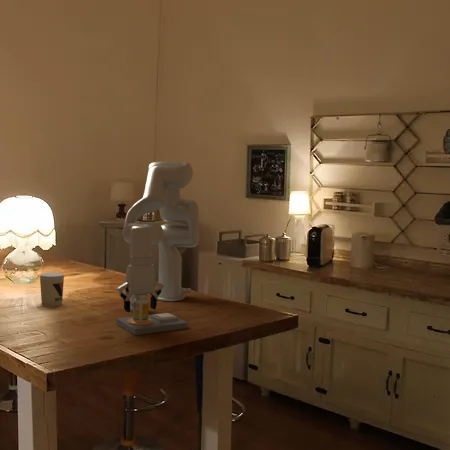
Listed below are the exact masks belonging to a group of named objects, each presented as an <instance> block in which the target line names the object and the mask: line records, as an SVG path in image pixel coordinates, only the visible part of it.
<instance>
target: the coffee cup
mask: <svg viewBox="0 0 450 450" xmlns="http://www.w3.org/2000/svg"><path fill="white" fill-rule="evenodd" d="M39 279H40V280H39V282H40V284H39V285H40V296H41V306H43V307H50V308H51V307H52V308H53V307H60V306H61V305H63V296H64V295H63V294H64V281H65V280H64V279H65V275H64V273H62V272H43V273H40V275H39Z"/></svg>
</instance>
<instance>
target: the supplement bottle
mask: <svg viewBox="0 0 450 450" xmlns="http://www.w3.org/2000/svg"><path fill="white" fill-rule="evenodd" d="M135 297H136V299H134V301H133V312H132V317H133V321H135V322H146V321H148V315H149V307H150V301H149V299H148V294H141V295H135ZM146 298H147V299H146Z"/></svg>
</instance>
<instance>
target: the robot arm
mask: <svg viewBox="0 0 450 450" xmlns="http://www.w3.org/2000/svg"><path fill="white" fill-rule="evenodd" d="M193 170H194V169H193V167H192V165H191V164H190V163H189V162H184V161H183V162H181V161H153V162H151V163H150V164H149V165H148V170H147V171H148V172H147V177H146V181H145V185H144V186H145V187H144V190H143V194H142V197H141V199H139V200H138V201H136V202H135V203H134V204H133V205H132V206H131V207H130V208H129V210H128V211H127V213H126V215H125V219H124V223H123V228H122V237H123V240H124V242H126V243H127V244H129V245H130V249H129V250H130V252H129V253H130V254H129V264H128V265H127V266H126V273H125V279H124V283H123V284H121V285H120V286H118V287H117V288H116V291H117V294H118V295H119V296H120V298H121V299H122V300H123V309H124V312H126V313H131V311H130V307H131V296H132V295H141V294H147V295H149V294H150V295H151V296H150V301H149V307H150V309H152V310H156V309H157V301H161V302H178V301H180V302H181V301H182V300H183V301H184V299H185V295H184V294H190V293H192V288H191V287H190V288H189V287H188V288H186V287H182V260H183V259H182V255H181V253H180V251H179V250H178V248H195V247H197V246H198V244H199V241H200V220H199V218H200V216H199V215H200V214H199V213H200V212H199V205H198V203H197V202H196V201H195V200H193V199H183V198H181V194H180V189H184V188H185V187H187V186H189V184H190V183H191V181H192V179H193V175H194V173H193ZM157 210H159V214H160V215H159V217H160V219H161V220H162V221H164V222H168V223H164V224H159V223H153V222H138V221H137V220H138V219H140V218H141V217H143V216H144V215H147V214H150V213H152V212H155V211H157ZM136 221H137V222H136ZM169 222H170V223H169ZM183 223H185V224H183ZM153 245H158V279H157V280H158V281H157V280H156V270H155V266H154V264H153V262H156V257H154V256H153ZM156 286H157V287H156ZM123 290H124V292H125V293H124V292H123Z"/></svg>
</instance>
